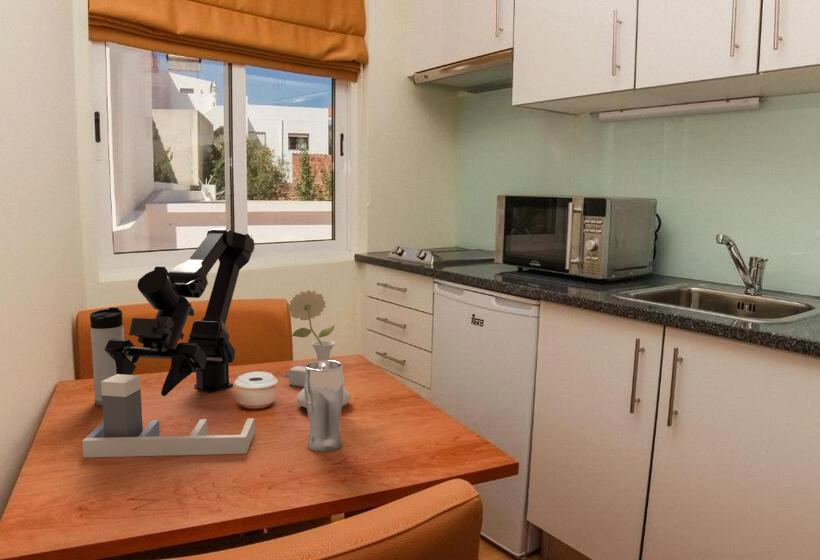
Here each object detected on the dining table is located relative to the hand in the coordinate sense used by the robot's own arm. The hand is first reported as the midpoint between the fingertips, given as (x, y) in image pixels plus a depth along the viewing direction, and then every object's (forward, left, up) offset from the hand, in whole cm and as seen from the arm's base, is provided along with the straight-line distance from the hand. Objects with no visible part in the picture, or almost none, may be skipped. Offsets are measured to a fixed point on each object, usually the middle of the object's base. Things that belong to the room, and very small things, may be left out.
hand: (140, 393), depth 118 cm
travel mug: (-5, -22, -8) cm, 24 cm away
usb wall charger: (-39, -1, -8) cm, 40 cm away
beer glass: (-18, +30, -8) cm, 36 cm away
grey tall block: (+5, +3, -7) cm, 9 cm away
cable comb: (-1, +9, -8) cm, 12 cm away
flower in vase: (-32, +14, -8) cm, 36 cm away
